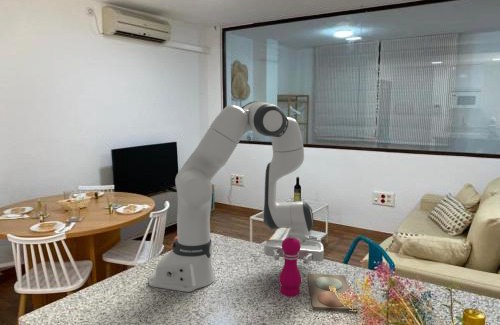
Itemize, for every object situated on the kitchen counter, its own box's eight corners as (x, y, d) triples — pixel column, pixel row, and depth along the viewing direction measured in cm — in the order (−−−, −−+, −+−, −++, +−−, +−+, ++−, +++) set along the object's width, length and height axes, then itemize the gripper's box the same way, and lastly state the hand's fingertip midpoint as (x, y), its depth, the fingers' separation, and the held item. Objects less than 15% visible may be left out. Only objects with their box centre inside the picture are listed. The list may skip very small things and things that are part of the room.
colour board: (312, 309, 111) (312, 305, 110) (307, 276, 132) (307, 272, 132) (357, 312, 110) (357, 308, 109) (344, 278, 131) (344, 274, 131)
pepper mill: (300, 299, 117) (302, 238, 114) (277, 296, 118) (278, 236, 115) (301, 288, 124) (303, 230, 121) (280, 285, 125) (281, 228, 122)
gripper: (268, 233, 135) (259, 246, 122) (325, 238, 130) (322, 253, 117) (267, 249, 136) (259, 264, 123) (324, 255, 131) (322, 272, 118)
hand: (290, 259), depth 120 cm, fingers open, 8 cm apart
